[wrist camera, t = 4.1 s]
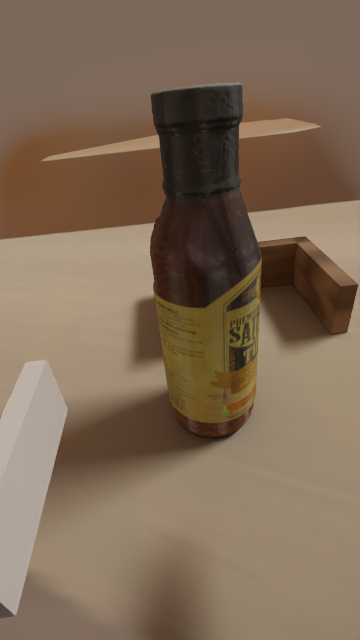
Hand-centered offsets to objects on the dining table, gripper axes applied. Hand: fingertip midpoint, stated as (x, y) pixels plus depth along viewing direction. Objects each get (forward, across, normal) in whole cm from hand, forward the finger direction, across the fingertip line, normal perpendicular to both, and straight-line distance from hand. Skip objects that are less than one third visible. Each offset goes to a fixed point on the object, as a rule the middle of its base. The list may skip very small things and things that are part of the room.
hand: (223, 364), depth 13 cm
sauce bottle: (+8, 0, -11) cm, 13 cm away
